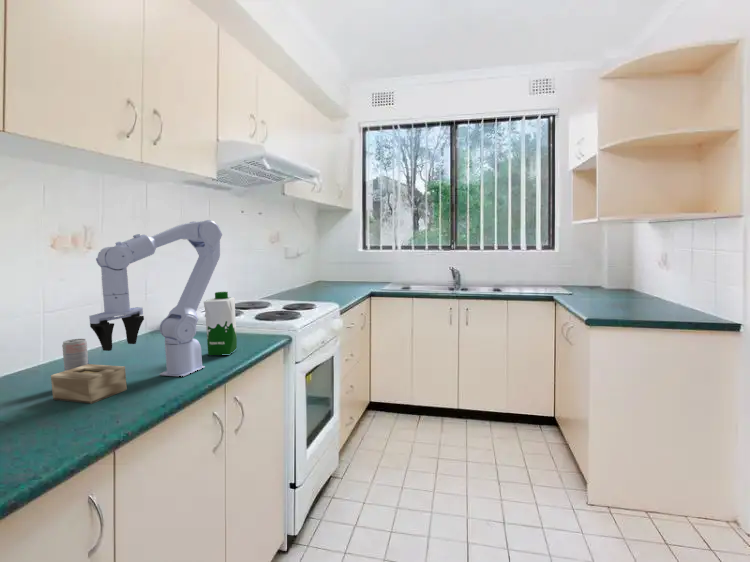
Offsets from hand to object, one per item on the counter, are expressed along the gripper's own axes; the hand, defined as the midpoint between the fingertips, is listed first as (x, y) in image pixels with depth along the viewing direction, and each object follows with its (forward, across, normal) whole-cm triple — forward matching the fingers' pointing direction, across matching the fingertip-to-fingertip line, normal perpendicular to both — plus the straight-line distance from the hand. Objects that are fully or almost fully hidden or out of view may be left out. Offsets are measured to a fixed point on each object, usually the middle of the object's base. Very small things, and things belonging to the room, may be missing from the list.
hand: (120, 347), depth 118 cm
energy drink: (+11, -2, +13) cm, 17 cm away
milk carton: (+10, +36, -4) cm, 38 cm away
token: (+10, -7, +3) cm, 12 cm away
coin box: (+10, -7, +3) cm, 13 cm away
